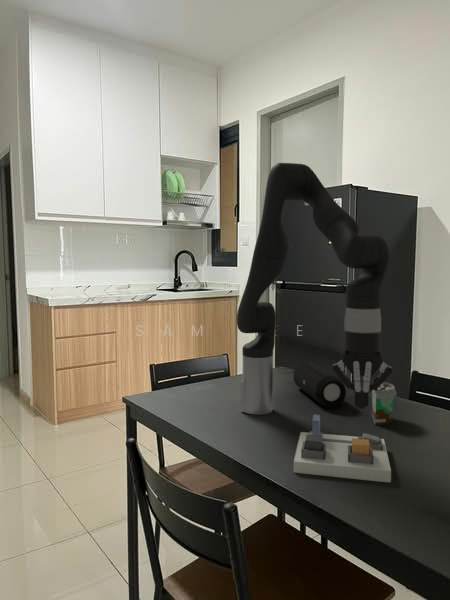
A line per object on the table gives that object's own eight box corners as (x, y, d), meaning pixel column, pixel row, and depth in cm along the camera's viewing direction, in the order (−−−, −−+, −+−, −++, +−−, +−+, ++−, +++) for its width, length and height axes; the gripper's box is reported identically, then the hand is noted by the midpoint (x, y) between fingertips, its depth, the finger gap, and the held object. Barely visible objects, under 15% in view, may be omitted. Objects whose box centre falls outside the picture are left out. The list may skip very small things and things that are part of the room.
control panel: (293, 472, 102) (293, 453, 102) (300, 441, 120) (300, 425, 119) (390, 482, 98) (391, 463, 97) (383, 448, 115) (383, 432, 115)
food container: (399, 428, 129) (400, 392, 128) (375, 426, 130) (376, 391, 130) (392, 413, 141) (393, 381, 140) (371, 412, 142) (371, 380, 142)
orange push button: (351, 454, 102) (352, 444, 102) (351, 447, 106) (351, 438, 105) (369, 455, 101) (369, 445, 101) (368, 449, 105) (368, 439, 105)
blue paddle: (309, 440, 113) (309, 420, 113) (310, 433, 117) (310, 414, 117) (321, 441, 112) (322, 421, 112) (322, 434, 116) (323, 415, 116)
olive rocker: (362, 441, 110) (363, 436, 110) (362, 437, 112) (363, 432, 112) (378, 446, 109) (379, 441, 109) (377, 441, 112) (378, 437, 111)
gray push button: (305, 449, 105) (305, 440, 104) (306, 443, 108) (306, 434, 108) (321, 451, 104) (321, 441, 104) (322, 445, 107) (322, 435, 107)
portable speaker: (291, 388, 170) (291, 361, 169) (317, 387, 172) (317, 360, 171) (318, 410, 145) (318, 378, 144) (348, 408, 147) (349, 377, 146)
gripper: (330, 330, 99) (329, 411, 101) (397, 332, 96) (395, 415, 97) (331, 325, 106) (330, 401, 108) (393, 327, 103) (391, 405, 105)
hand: (361, 407), depth 103 cm, fingers closed
